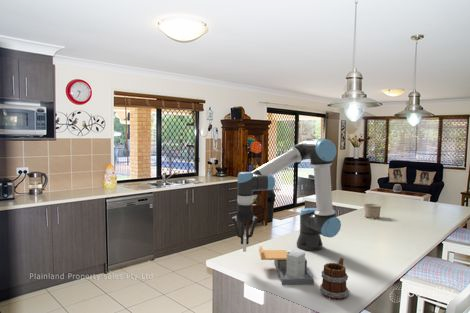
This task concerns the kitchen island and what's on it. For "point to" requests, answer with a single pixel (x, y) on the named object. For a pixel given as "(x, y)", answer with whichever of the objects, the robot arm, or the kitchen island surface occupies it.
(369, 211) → the planter
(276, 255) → the lid
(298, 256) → the small box
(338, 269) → the mug
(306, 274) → the housing
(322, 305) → the kitchen island surface
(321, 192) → the robot arm
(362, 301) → the kitchen island surface
